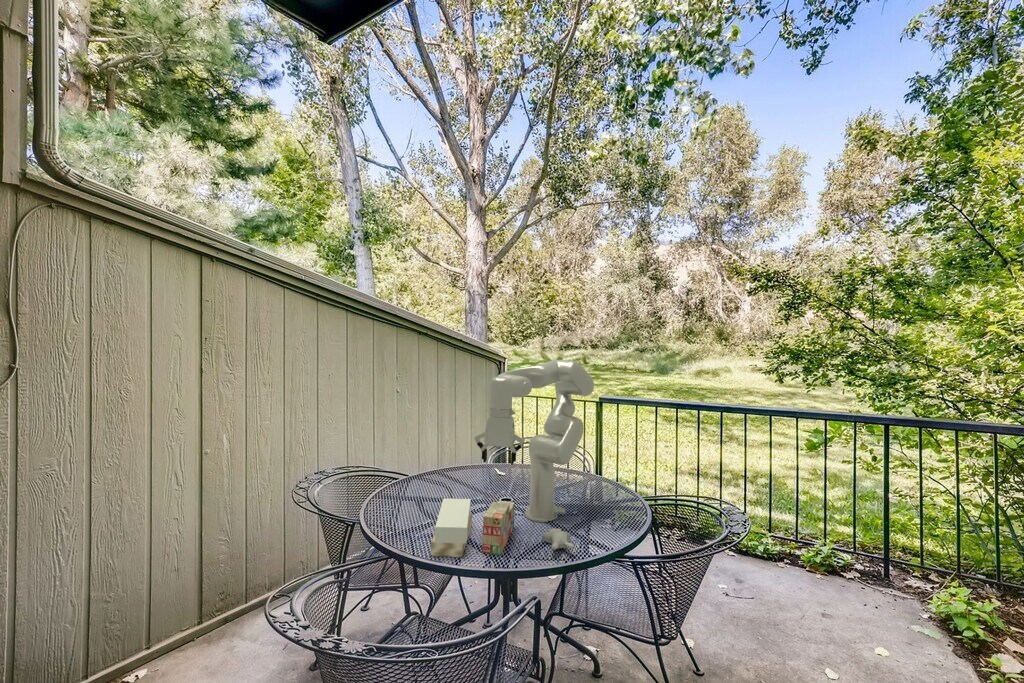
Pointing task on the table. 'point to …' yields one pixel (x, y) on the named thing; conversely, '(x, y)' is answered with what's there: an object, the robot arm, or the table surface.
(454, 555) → the lower slab
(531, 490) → the robot arm
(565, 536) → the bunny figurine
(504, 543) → the stack of blocks
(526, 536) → the table surface
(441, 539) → the upper slab
